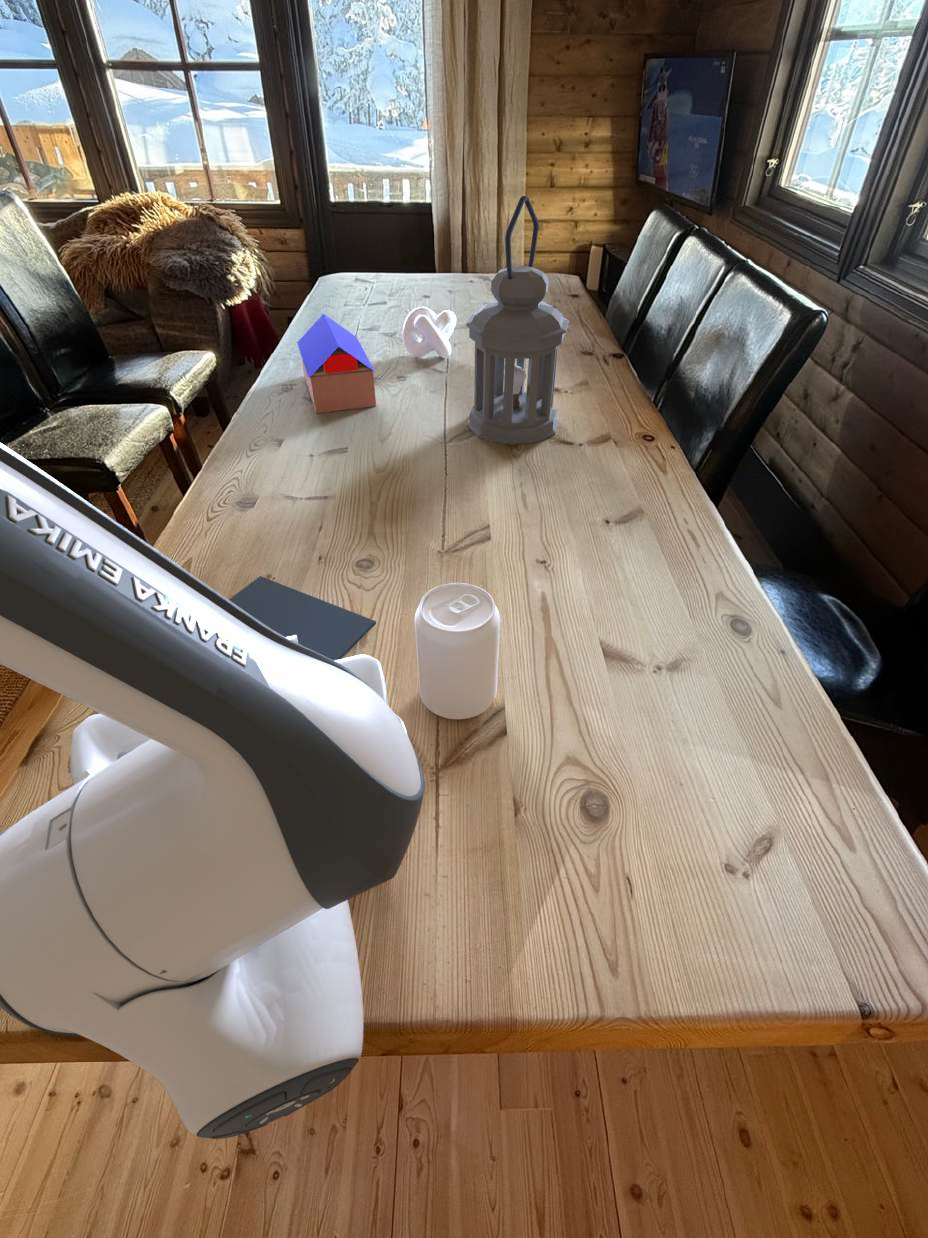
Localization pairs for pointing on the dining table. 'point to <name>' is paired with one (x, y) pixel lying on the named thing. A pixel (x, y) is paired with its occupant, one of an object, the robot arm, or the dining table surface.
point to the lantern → (516, 352)
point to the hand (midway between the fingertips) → (233, 654)
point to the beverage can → (457, 650)
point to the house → (336, 368)
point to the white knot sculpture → (428, 332)
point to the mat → (303, 617)
